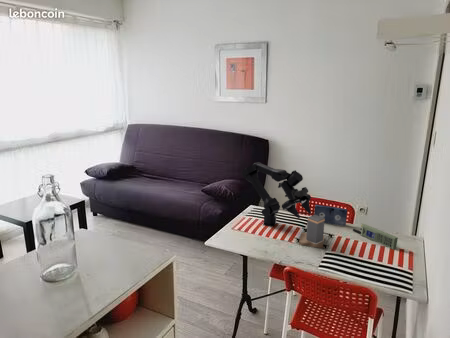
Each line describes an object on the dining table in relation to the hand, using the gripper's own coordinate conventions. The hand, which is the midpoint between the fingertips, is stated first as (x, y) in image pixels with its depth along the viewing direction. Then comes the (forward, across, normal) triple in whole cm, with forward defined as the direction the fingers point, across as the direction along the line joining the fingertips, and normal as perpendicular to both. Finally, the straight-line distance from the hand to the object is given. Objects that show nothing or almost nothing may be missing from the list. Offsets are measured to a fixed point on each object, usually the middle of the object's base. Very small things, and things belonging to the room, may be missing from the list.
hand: (304, 215), depth 179 cm
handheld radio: (+27, +28, -8) cm, 39 cm away
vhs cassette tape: (+7, +29, +11) cm, 32 cm away
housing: (+13, 0, +3) cm, 13 cm away
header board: (+13, 0, +6) cm, 14 cm away
